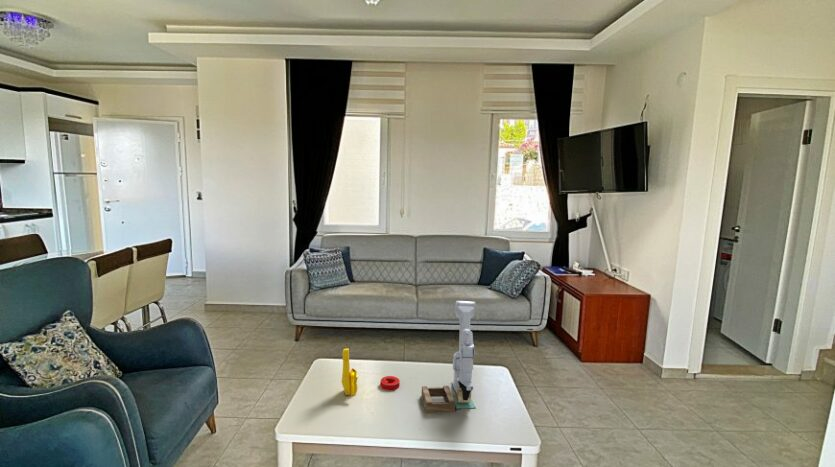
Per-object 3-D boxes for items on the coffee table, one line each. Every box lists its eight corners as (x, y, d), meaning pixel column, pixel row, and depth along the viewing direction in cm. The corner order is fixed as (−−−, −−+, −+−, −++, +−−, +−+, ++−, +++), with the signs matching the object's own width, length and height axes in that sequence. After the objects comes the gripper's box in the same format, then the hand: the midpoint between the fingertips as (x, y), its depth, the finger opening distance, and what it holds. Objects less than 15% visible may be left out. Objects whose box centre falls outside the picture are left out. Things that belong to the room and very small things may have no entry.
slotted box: (421, 396, 202) (421, 386, 202) (447, 395, 204) (448, 385, 204) (426, 413, 188) (426, 402, 187) (454, 412, 190) (455, 401, 189)
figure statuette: (357, 402, 194) (358, 356, 192) (340, 402, 193) (341, 357, 190) (358, 383, 212) (359, 341, 209) (342, 383, 211) (343, 342, 208)
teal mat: (452, 398, 201) (452, 397, 201) (470, 398, 202) (470, 397, 202) (456, 408, 192) (456, 408, 192) (475, 408, 193) (475, 407, 193)
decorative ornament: (403, 386, 212) (403, 380, 211) (390, 392, 204) (390, 386, 204) (389, 379, 218) (390, 373, 218) (376, 385, 211) (376, 379, 210)
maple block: (456, 398, 198) (456, 388, 198) (468, 397, 199) (469, 387, 199) (458, 402, 194) (458, 392, 194) (470, 402, 195) (471, 392, 195)
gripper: (454, 363, 202) (452, 390, 203) (461, 377, 187) (459, 405, 189) (468, 363, 203) (466, 389, 204) (476, 377, 188) (474, 405, 190)
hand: (464, 397), depth 197 cm, fingers closed on maple block, 4 cm apart
